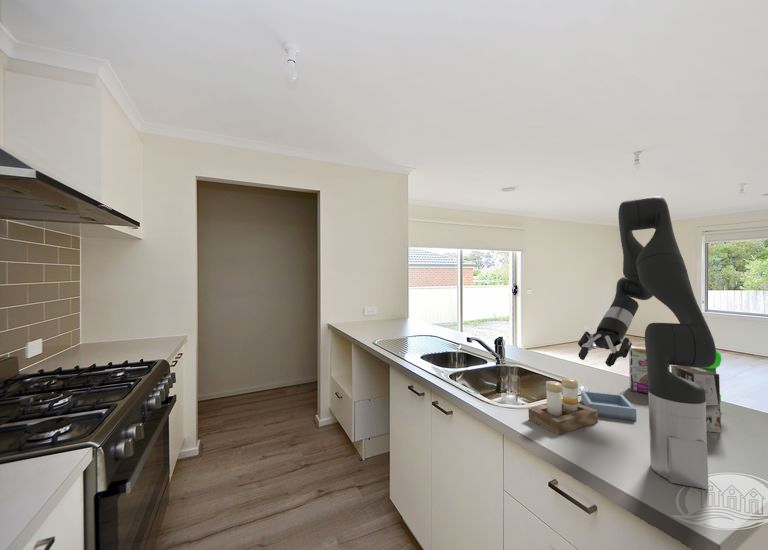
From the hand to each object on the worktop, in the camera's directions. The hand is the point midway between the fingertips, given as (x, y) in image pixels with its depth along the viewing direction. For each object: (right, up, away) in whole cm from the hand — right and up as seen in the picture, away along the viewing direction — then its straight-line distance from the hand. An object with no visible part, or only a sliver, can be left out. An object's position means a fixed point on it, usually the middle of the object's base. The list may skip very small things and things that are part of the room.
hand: (593, 361), depth 99 cm
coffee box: (+23, -16, -10) cm, 30 cm away
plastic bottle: (+37, -16, +2) cm, 40 cm away
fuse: (-17, -16, -7) cm, 25 cm away
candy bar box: (+31, -16, +15) cm, 38 cm away
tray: (+5, -16, +1) cm, 17 cm away
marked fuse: (-10, -16, -5) cm, 20 cm away
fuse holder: (-14, -16, -6) cm, 22 cm away
